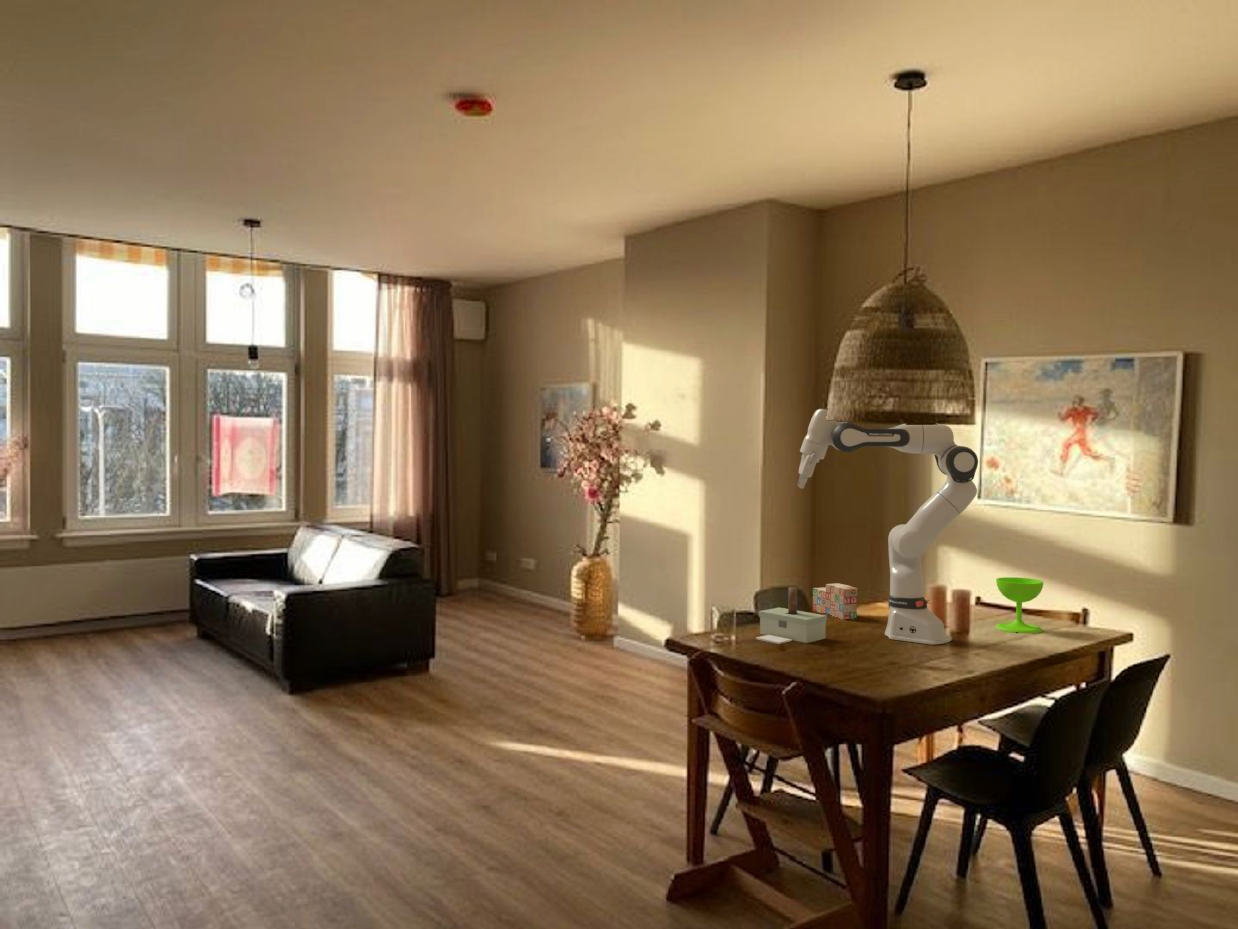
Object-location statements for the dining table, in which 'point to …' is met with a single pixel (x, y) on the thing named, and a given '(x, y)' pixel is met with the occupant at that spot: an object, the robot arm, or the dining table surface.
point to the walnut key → (792, 601)
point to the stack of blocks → (836, 600)
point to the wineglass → (1019, 601)
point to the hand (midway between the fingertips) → (799, 487)
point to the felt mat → (773, 639)
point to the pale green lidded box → (793, 625)
